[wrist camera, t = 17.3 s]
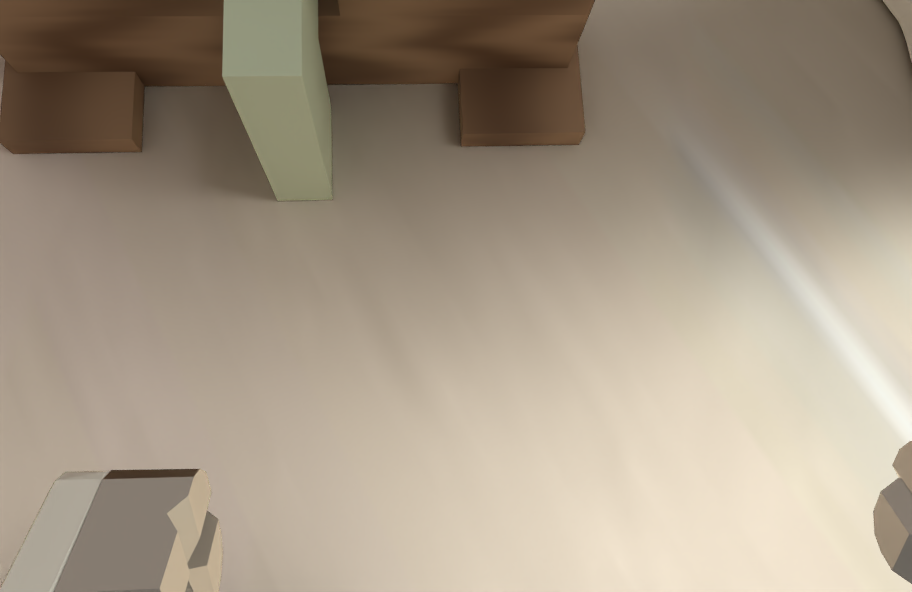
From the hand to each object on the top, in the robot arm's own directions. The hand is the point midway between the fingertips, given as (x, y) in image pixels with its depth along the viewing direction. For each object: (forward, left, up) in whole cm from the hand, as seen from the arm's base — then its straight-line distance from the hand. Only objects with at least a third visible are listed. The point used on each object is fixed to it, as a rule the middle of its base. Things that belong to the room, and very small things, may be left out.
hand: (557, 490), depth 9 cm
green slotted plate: (-12, -13, -21) cm, 28 cm away
